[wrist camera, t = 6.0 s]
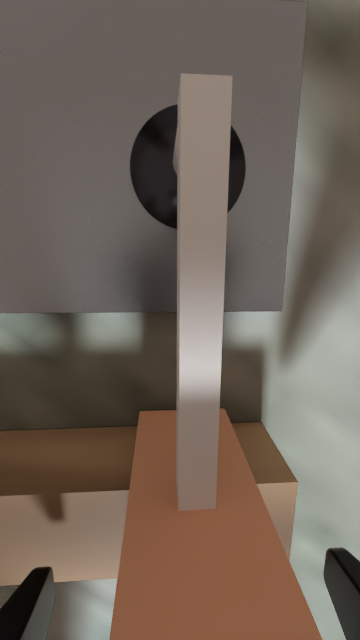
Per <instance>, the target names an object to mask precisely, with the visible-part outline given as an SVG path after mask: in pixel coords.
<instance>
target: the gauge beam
mask: <svg viewBox="0 0 360 640" xmlns="http://www.w3.org/2000/svg"><path fill="white" fill-rule="evenodd" d="M231 424H232V427H233V429H234V432H235V434H236V436H237V439H238V441H239V443H240V446H241V448H242V451H243V453H244V455H245V458H246V460H247V462H248V465H249V467H250V469H251V472H252V474H253V477H254V479H255V481H256V484H257V486H258V488H259V491H260V493H261V496H262V498H263V500H264V503H265V505H266V507H267V510H268V512H269V515H270V517H271V519H272V522H273V524H274V526H275V529H276V531H277V533H278V536H279V538H280V541H281V543H282V545H283V548H284V550H285V552H286V555H287V557H288V560H289V558H290V549H291V540H292V531H293V522H294V513H295V504H296V495H297V486H298V481H297V480H296V478H295V476H294V475H293V473H292V472H291V470H290V468H289V467H288V465H287V463H286V462H285V460H284V458H283V457H282V455H281V453H280V452H279V450H278V448H277V447H276V445H275V444H274V442H273V440H272V439H271V437H270V435H269V434H268V432H267V430H266V429H265V427H264V425H263V424H262V422H251V423H231ZM137 427H138V426H131V427H100V428H70V429H40V430H10V431H0V586H8V585H20V584H21V583H22V582H23V581H24V579H25V578H26V577H27V576H28V574H29V573H30V572H31V571H32V570H33V569H34V568H36V567H47V566H50V567H51V568H52V570H53V577H54V582H67V581H82V580H97V579H112V578H118V572H119V564H120V556H121V549H122V541H123V534H124V526H125V518H126V511H127V503H128V495H129V488H130V480H131V473H132V465H133V457H134V450H135V442H136V435H137Z"/></svg>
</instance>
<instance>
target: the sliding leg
mask: <svg viewBox="0 0 360 640" xmlns="http://www.w3.org/2000/svg"><path fill="white" fill-rule="evenodd" d="M232 78H233V76H227V75H206V74H185V73H181V76H180V85H179V94H178V125H177V132H176V140H175V147H174V155H173V167H174V170H175V172H176V174H177V410H163V411H140V412H139V419H138V427H137V435H136V442H135V450H134V457H133V465H132V473H131V480H130V488H129V495H128V503H127V511H126V518H125V526H124V534H123V541H122V549H121V556H120V564H119V572H118V579H117V587H116V594H115V602H114V610H113V617H112V625H111V632H110V640H322V638H321V635H320V633H319V631H318V628H317V626H316V623H315V621H314V619H313V616H312V614H311V612H310V609H309V607H308V605H307V602H306V600H305V597H304V595H303V593H302V590H301V588H300V586H299V583H298V581H297V578H296V576H295V574H294V571H293V569H292V567H291V564H290V562H289V560H288V557H287V555H286V552H285V550H284V548H283V545H282V543H281V541H280V538H279V536H278V533H277V531H276V529H275V526H274V524H273V522H272V519H271V517H270V515H269V512H268V510H267V507H266V505H265V503H264V500H263V498H262V496H261V493H260V491H259V488H258V486H257V484H256V481H255V479H254V477H253V474H252V472H251V469H250V467H249V465H248V462H247V460H246V458H245V455H244V453H243V451H242V448H241V446H240V443H239V441H238V439H237V436H236V434H235V432H234V429H233V427H232V424H231V422H230V420H229V417H228V415H227V413H226V410H225V409H220V387H221V361H222V335H223V310H224V284H225V258H226V232H227V207H228V181H229V155H230V130H231V104H232Z"/></svg>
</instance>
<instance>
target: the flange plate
mask: <svg viewBox="0 0 360 640" xmlns="http://www.w3.org/2000/svg"><path fill="white" fill-rule="evenodd" d="M307 5H308V2H302V1H287V0H0V313H99V312H177V174H176V172H175V170H174V167H173V155H174V147H175V140H176V132H177V125H178V94H179V85H180V76H181V73H185V74H206V75H227V76H233V78H232V104H231V130H230V155H229V181H228V207H227V232H226V258H225V284H224V310H223V312H238V311H282V304H283V292H284V280H285V268H286V256H287V244H288V232H289V220H290V208H291V196H292V184H293V172H294V160H295V149H296V137H297V125H298V113H299V101H300V89H301V77H302V65H303V53H304V41H305V29H306V17H307Z"/></svg>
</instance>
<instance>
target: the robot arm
mask: <svg viewBox="0 0 360 640" xmlns="http://www.w3.org/2000/svg"><path fill="white" fill-rule="evenodd" d="M324 580H325V584H326V587H327V589H328V592H329V595H330V597H331V600H332V603H333V605H334V608H335V611H336V613H337V616H338V619H339V621H340V624H341V627H342V630H343V632H344V635H345V638H346V640H360V561H359V560H357V559H356V558H355V557H354V556H353V555H352V554H351V553H350V552H348V551H347V550H346V549H344V548H329V549H328V550H327V552H326V559H325V566H324ZM54 601H55V586H54V577H53V570H52V568H51V567H50V566H47V567H36V568H34V569H33V570H32V571H31V572H30V573H29V574H28V576H27V577H26V578H25V579H24V581H23V582H22V583H21V584H20V585H19V587H18V588H17V589H16V590H15V592H14V593H13V594H12V595H11V597H10V598H9V599H8V600H7V602H6V603H5V604H4V605H3V606H2V608H1V609H0V640H46V637H47V633H48V628H49V624H50V619H51V615H52V610H53V606H54Z"/></svg>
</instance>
